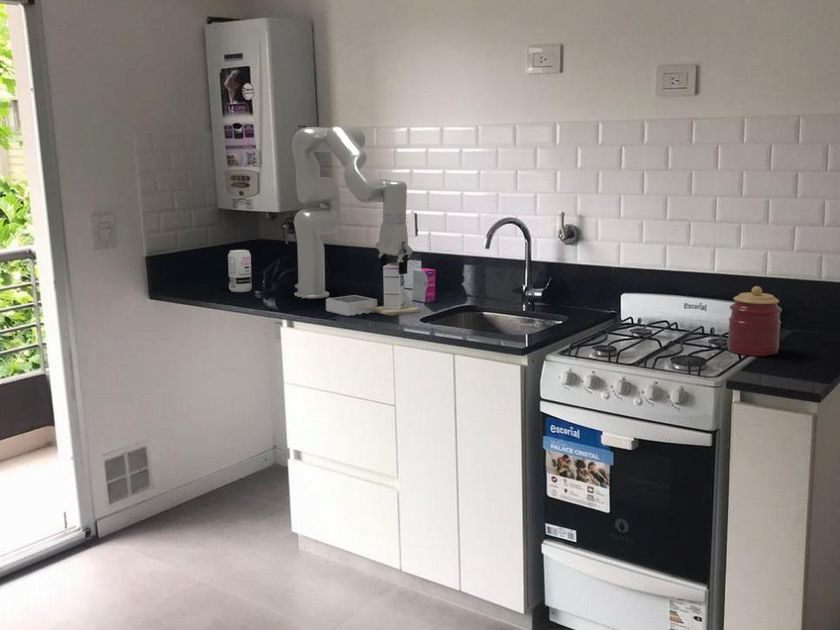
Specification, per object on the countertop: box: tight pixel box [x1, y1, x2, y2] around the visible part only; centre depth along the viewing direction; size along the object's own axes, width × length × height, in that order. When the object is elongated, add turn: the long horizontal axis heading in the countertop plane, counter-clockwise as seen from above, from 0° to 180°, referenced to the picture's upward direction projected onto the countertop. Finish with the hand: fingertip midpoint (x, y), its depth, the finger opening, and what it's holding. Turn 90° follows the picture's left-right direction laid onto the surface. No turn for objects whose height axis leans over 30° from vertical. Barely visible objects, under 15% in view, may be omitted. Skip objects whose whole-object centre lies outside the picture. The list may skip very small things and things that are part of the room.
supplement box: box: [412, 267, 437, 304], centre depth 311 cm, size 6×6×12 cm
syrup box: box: [382, 263, 406, 310], centre depth 292 cm, size 6×6×14 cm
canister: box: [726, 285, 783, 357], centre depth 235 cm, size 13×13×18 cm
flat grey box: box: [325, 294, 378, 317], centre depth 295 cm, size 19×12×4 cm, turn 41°
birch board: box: [374, 305, 421, 317], centre depth 293 cm, size 12×12×1 cm
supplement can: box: [227, 249, 253, 293], centre depth 332 cm, size 8×8×15 cm
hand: (393, 271), depth 291 cm, fingers open, 9 cm apart
